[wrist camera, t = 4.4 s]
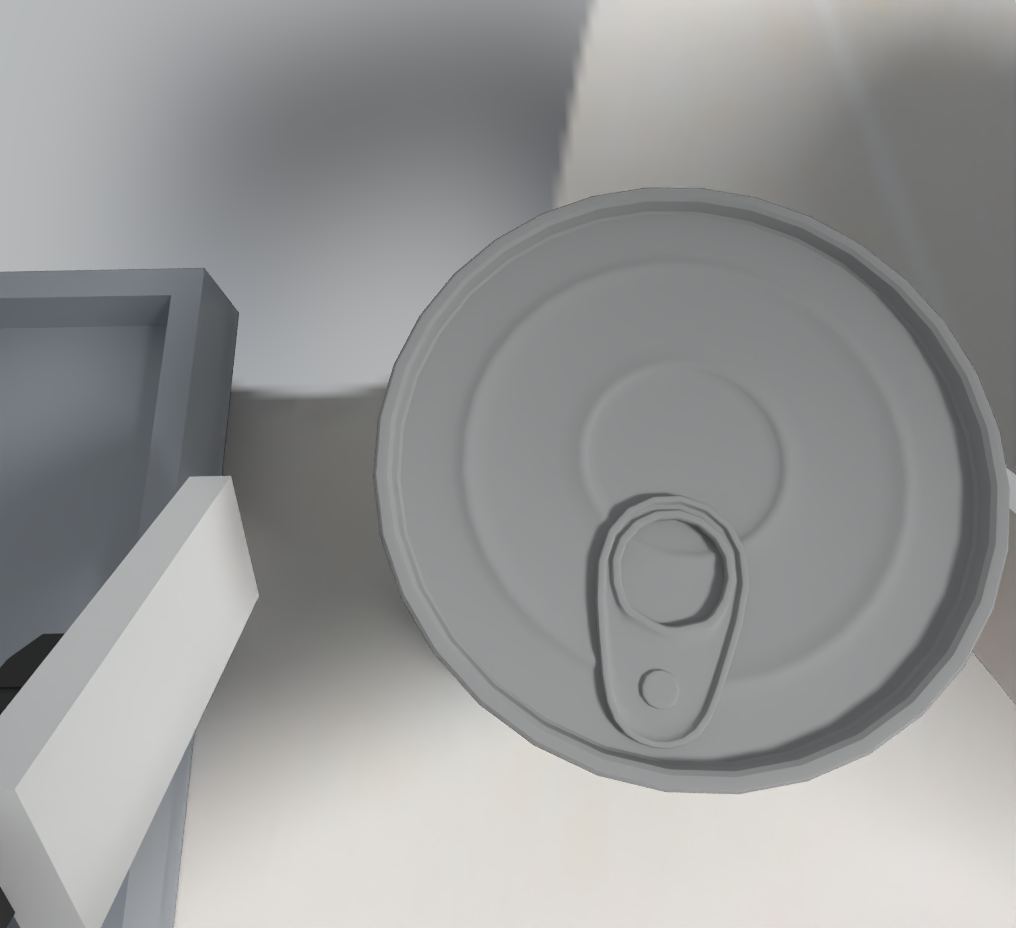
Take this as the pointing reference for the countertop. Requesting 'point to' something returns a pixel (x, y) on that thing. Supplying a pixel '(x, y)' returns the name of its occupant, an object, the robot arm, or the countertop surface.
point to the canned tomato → (691, 490)
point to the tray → (105, 467)
